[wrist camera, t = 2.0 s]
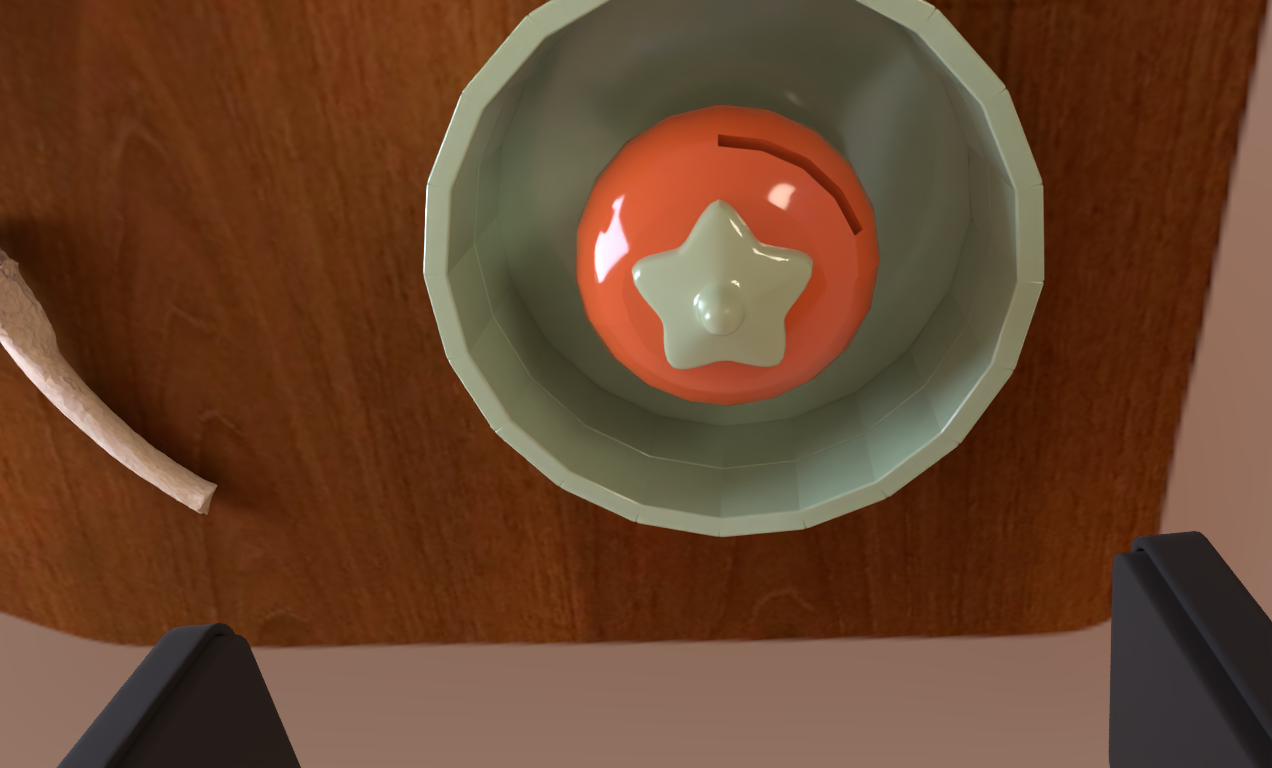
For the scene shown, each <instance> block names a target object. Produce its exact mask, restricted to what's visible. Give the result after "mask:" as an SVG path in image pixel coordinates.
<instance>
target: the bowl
mask: <svg viewBox="0 0 1272 768" xmlns="http://www.w3.org/2000/svg"><path fill="white" fill-rule="evenodd" d="M716 104H728V105H738V106H747V107H757V108H767V109H769V110H772V111H774V112H776V113H778V114H781V115H783V116H785V117H787V118H790V119H792V120H794V121H796V122H799V123H801V124H803V125H805V126H808V127H810V128H812V129H814V130H816V131H817V132H818V133H819V134H820V135H821V136H822V137H823V138H824V139H825V140H827V141H828V142H829V143H830V144H831V145H832V146H833V147H834V148H835V149H836V150H837V151H838V152H839V153H840V154H841V155H842V156H843V157H844V158H845V159H847V160H848V161H849V162H850V163H851V164H852V166H853V168H854V170H855V172H856V174H857V176H858V178H859V180H860V182H861V183H862V185H863V187H864V189H865V191H866V193H867V195H868V197H869V199H870V201H871V203H872V204H873V206H874V213H875V220H876V227H877V235H878V242H879V250H880V263H879V269H878V274H877V279H876V284H875V289H874V294H873V300H872V305H871V309H870V311H869V313H868V314H867V316H866V318H865V320H864V321H863V323H862V325H861V326H860V328H859V330H858V332H857V333H856V335H855V337H854V339H853V340H852V342H851V344H850V346H849V347H848V349H847V350H845V351H844V352H843V353H842V354H841V355H840V356H839V357H838V358H837V359H836V360H835V361H834V362H833V363H831V364H830V365H829V366H828V367H827V368H826V369H825V370H824V371H823V372H822V373H821V374H820V375H818V376H817V377H816V378H815V379H814V380H811V381H809V382H807V383H805V384H803V385H801V386H799V387H797V388H795V389H793V390H790V391H788V392H786V393H784V394H782V395H780V396H778V397H776V398H773V399H767V400H762V401H756V402H750V403H744V404H738V405H732V406H725V405H717V404H708V403H700V402H692V401H686V400H683V399H681V398H678V397H676V396H674V395H671V394H669V393H667V392H664V391H662V390H659V389H657V388H655V387H652V386H650V385H647V384H645V383H644V382H642V381H641V380H640V379H639V378H638V377H636V376H635V375H634V374H633V373H632V372H630V371H629V370H628V369H627V368H626V367H624V366H623V365H622V364H621V363H620V362H618V361H617V360H616V359H615V358H613V357H612V356H611V355H610V353H609V352H608V350H607V349H606V347H605V346H604V344H603V343H602V341H601V340H600V338H599V337H598V335H597V334H596V332H595V331H594V329H593V328H592V326H591V325H590V323H589V322H588V320H587V319H586V315H585V311H584V307H583V304H582V300H581V296H580V293H579V289H578V285H577V281H576V278H575V267H576V247H577V229H578V220H579V217H580V215H581V212H582V210H583V207H584V205H585V203H586V200H587V198H588V195H589V193H590V190H591V188H592V185H593V183H594V180H595V178H596V177H597V175H598V174H599V173H600V172H601V171H602V169H603V168H604V167H605V166H606V165H607V164H608V162H609V161H610V160H611V159H612V158H613V156H614V155H615V154H616V153H617V152H618V151H619V149H620V148H621V147H622V146H623V145H624V144H625V142H626V141H627V140H629V139H631V138H632V137H634V136H636V135H637V134H639V133H641V132H643V131H644V130H646V129H648V128H649V127H651V126H653V125H654V124H656V123H658V122H659V121H661V120H663V119H664V118H666V117H668V116H669V115H673V114H677V113H681V112H686V111H690V110H695V109H699V108H703V107H708V106H712V105H716ZM423 273H424V279H425V283H426V287H427V290H428V294H429V297H430V301H431V304H432V308H433V311H434V315H435V318H436V322H437V325H438V329H439V332H440V336H441V339H442V343H443V346H444V350H445V353H446V357H447V359H449V363H450V365H451V366H452V368H453V369H454V371H455V372H456V374H457V375H458V377H459V378H460V380H461V381H462V383H463V384H464V386H465V388H466V389H467V391H468V392H469V394H470V395H471V397H472V398H473V400H474V401H475V403H476V404H477V406H478V407H479V409H480V411H481V412H482V414H483V415H484V417H485V418H486V420H487V421H488V423H489V424H490V426H491V427H492V429H493V430H494V431H496V434H497V435H499V436H500V437H501V438H502V439H503V440H504V441H506V442H507V443H508V444H509V445H510V446H511V447H513V448H514V449H515V450H516V451H517V452H518V453H520V454H521V455H522V456H523V457H524V458H525V459H527V460H528V461H529V462H530V463H531V464H533V465H534V466H535V467H536V468H537V469H538V470H540V471H541V472H542V473H543V474H544V475H545V476H547V477H548V478H549V479H550V480H551V481H552V482H554V483H555V484H556V485H557V486H560V487H561V488H562V489H564V490H566V491H568V492H571V493H573V494H575V495H577V496H579V497H581V498H584V499H586V500H588V501H590V502H592V503H594V504H597V505H599V506H601V507H603V508H605V509H607V510H610V511H612V512H614V513H616V514H618V515H620V516H622V517H625V518H627V519H629V520H631V521H633V522H636V521H637V523H640V524H646V525H652V526H658V527H664V528H670V529H676V530H682V531H687V532H693V533H699V534H705V535H711V536H717V537H718V536H721V537H728V536H738V535H749V534H760V533H770V532H781V531H791V530H802V529H805V527H806V528H810V527H812V526H815V525H818V524H820V523H823V522H825V521H828V520H831V519H833V518H836V517H839V516H841V515H844V514H847V513H849V512H852V511H855V510H857V509H860V508H863V507H865V506H868V505H870V504H873V503H876V502H878V501H881V500H884V499H886V498H887V496H888V497H889V496H891V495H892V494H894V493H895V492H896V491H898V490H899V489H901V488H902V487H903V486H905V485H906V484H907V483H909V482H910V481H911V480H913V479H914V478H915V477H917V476H918V475H919V474H921V473H922V472H923V471H925V470H926V469H927V468H929V467H930V466H932V465H933V464H934V463H936V462H937V461H938V460H940V459H941V458H942V457H944V456H945V455H946V454H948V453H949V452H950V451H952V450H953V449H954V448H956V447H957V446H958V443H961V442H962V441H963V439H964V438H965V437H966V435H967V434H968V433H969V431H970V430H971V429H972V427H973V426H974V425H975V423H976V422H977V420H978V419H979V418H980V416H981V415H982V414H983V412H984V411H985V410H986V408H987V407H988V406H989V404H990V403H991V402H992V400H993V399H994V398H995V396H996V395H997V394H998V392H999V391H1000V389H1001V388H1002V387H1003V385H1004V384H1005V383H1006V381H1007V380H1008V379H1009V377H1010V376H1011V375H1012V373H1013V370H1014V369H1015V367H1016V364H1017V361H1018V358H1019V355H1020V352H1021V349H1022V346H1023V344H1024V341H1025V338H1026V335H1027V332H1028V329H1029V326H1030V323H1031V320H1032V317H1033V314H1034V311H1035V308H1036V305H1037V302H1038V299H1039V296H1040V293H1041V290H1042V287H1043V280H1044V192H1043V184H1042V178H1041V175H1040V173H1039V170H1038V167H1037V165H1036V162H1035V160H1034V157H1033V154H1032V152H1031V149H1030V146H1029V144H1028V141H1027V138H1026V136H1025V133H1024V130H1023V128H1022V125H1021V123H1020V120H1019V117H1018V115H1017V112H1016V109H1015V107H1014V104H1013V101H1012V99H1011V96H1010V93H1009V91H1008V90H1007V89H1006V87H1005V84H1004V83H1003V82H1002V81H1001V80H1000V79H999V77H998V76H997V75H996V74H995V73H994V72H993V71H992V69H991V68H990V67H989V66H988V65H987V64H986V63H985V61H984V60H983V59H982V58H981V57H980V56H979V55H978V53H977V52H976V51H975V50H974V49H973V48H972V47H971V45H970V44H969V43H968V42H967V41H966V40H965V39H964V37H963V36H962V35H961V34H960V33H959V32H958V31H957V29H956V28H955V27H954V26H953V25H952V24H951V23H950V21H949V20H948V19H947V18H946V17H945V16H944V15H943V13H942V12H941V11H940V10H939V9H937V8H935V6H934V5H932V4H930V3H928V2H927V1H925V0H550V1H549V2H547V3H545V4H544V5H542V6H540V7H539V8H537V9H535V10H534V11H532V12H530V13H529V15H527V16H525V17H524V19H523V20H522V21H521V22H520V23H519V24H518V26H517V27H516V28H515V29H514V30H513V32H512V33H511V34H510V35H509V36H508V38H507V39H506V40H505V41H504V42H503V43H502V45H501V46H500V47H499V48H498V49H497V51H496V52H495V53H494V54H493V55H492V57H491V58H490V59H489V60H488V61H487V62H486V64H485V65H484V66H483V67H482V68H481V70H480V71H479V72H478V73H477V74H476V76H475V77H474V78H473V79H472V80H471V81H470V83H469V84H468V85H467V86H466V87H465V89H464V90H463V92H462V94H461V95H460V97H459V100H458V103H457V105H456V108H455V110H454V113H453V116H452V118H451V121H450V123H449V126H448V129H447V131H446V134H445V136H444V139H443V142H442V144H441V147H440V149H439V152H438V155H437V157H436V160H435V163H434V165H433V168H432V170H431V173H430V176H429V178H428V184H427V187H426V213H425V239H424V264H423Z"/></svg>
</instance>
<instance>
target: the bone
mask: <svg viewBox="0 0 1272 768" xmlns="http://www.w3.org/2000/svg"><path fill="white" fill-rule="evenodd" d="M18 265H19V263H18V262H16V261H14V260H13V259H10V258H9V257H8V256H7V254H6V253H5V252H4V251H2V249H1V247H0V342H1V343H2V345H3V346H4V347H5V348H6V350H7V351H8V353H9V354H10V355H11V356H12V358H13V359H14V360H15V362H16V363H17V364H18V366H19V367H20V368H21V369H22V370H23V372H24V373H25V374H26V376H28V377H29V378H30V379H31V381H32V382H33V383H34V384H35V385H36V386H37V387H38V388H39V389H40V390H41V391H42V392H43V393H44V395H45V396H46V397H47V398H48V399H49V400H50V401H51V402H52V403H53V404H54V405H55V406H56V407H57V408H59V410H60V411H61V412H62V413H63V414H64V415H66V416H67V417H68V418H69V419H70V420H71V421H73V422H74V423H75V424H76V425H77V426H78V427H79V428H80V429H81V430H82V431H84V432H85V433H86V434H87V435H88V436H90V437H91V438H92V439H93V440H94V441H95V442H96V443H97V444H98V445H100V446H101V447H102V448H103V449H105V450H106V451H107V452H108V453H109V454H110V455H112V456H113V457H114V458H115V459H117V460H119V461H120V462H121V463H122V464H123V465H125V466H126V467H128V468H129V469H131V470H132V471H134V472H135V473H136V474H137V475H139V476H140V477H142V478H144V479H145V480H147V481H149V482H150V483H152V484H154V485H155V486H157V487H158V488H160V489H161V490H162V491H164V492H165V493H167V494H168V495H170V496H172V497H173V498H175V499H176V500H178V501H180V502H182V503H183V504H185V505H187V506H188V507H190V508H191V509H193V510H195V511H197V512H198V513H199V514H202V513H205V514H208V512H209V506H210V502H211V498H212V495H213V493H214V491H215V489H216V487H217V485H216V484H214V483H211V482H209V481H206V480H204V479H202V478H201V477H199V476H197V475H196V474H195V473H193V472H191V471H189V470H188V469H186V468H184V467H183V466H181V465H180V464H177V463H175V462H174V461H173V460H172V459H171V458H169V457H167V455H165V454H164V453H162V452H160V451H159V450H157V449H155V448H154V447H153V446H152V445H150V444H148V442H147V441H146V440H145V439H143V438H142V437H141V436H140V435H139V434H137V433H135V432H134V431H133V430H132V429H131V428H130V427H129V426H128V425H127V424H126V423H125V422H124V421H123V420H122V419H121V418H119V417H118V416H117V415H116V414H115V413H113V412H112V411H111V410H110V409H109V408H108V406H107V405H106V404H104V403H103V402H102V401H101V400H100V398H99V397H98V396H97V395H96V394H95V393H94V392H93V391H92V390H91V389H90V388H89V387H88V386H87V385H86V384H85V383H84V382H83V380H82V379H81V378H80V377H79V376H78V374H77V373H76V372H75V371H74V370H73V369H72V368H71V366H70V365H69V364H68V362H67V361H66V360H65V359H64V357H63V356H62V355H61V354H60V352H59V349H58V346H57V344H56V335H55V332H54V330H53V328H52V325H51V324H50V322H49V320H48V318H47V316H46V314H45V312H44V310H43V308H42V306H41V304H40V302H38V301H37V299H36V298H35V296H34V294H33V292H32V290H31V289H30V288H29V287H28V286H27V285H26V283H25V281H24V279H23V278H22V276H21V274H20V272H19V269H18Z"/></svg>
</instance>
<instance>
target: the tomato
mask: <svg viewBox="0 0 1272 768" xmlns="http://www.w3.org/2000/svg"><path fill="white" fill-rule="evenodd" d="M879 263H880V250H879V242H878V235H877V227H876V220H875V213H874V206H873V204H872V203H871V201H870V199H869V197H868V195H867V193H866V191H865V189H864V187H863V185H862V183H861V182H860V180H859V178H858V176H857V174H856V172H855V170H854V168H853V166H852V164H851V163H850V162H849V161H848V160H847V159H845V158H844V157H843V156H842V155H841V154H840V153H839V152H838V151H837V150H836V149H835V148H834V147H833V146H832V145H831V144H830V143H829V142H828V141H827V140H825V139H824V138H823V137H822V136H821V135H820V134H819V133H818V132H817V131H816V130H814V129H812V128H810V127H808V126H805V125H803V124H801V123H799V122H796V121H794V120H792V119H790V118H787V117H785V116H783V115H781V114H778V113H776V112H774V111H772V110H769V109H767V108H757V107H747V106H738V105H728V104H716V105H712V106H708V107H703V108H699V109H695V110H690V111H686V112H681V113H677V114H673V115H669V116H668V117H666V118H664V119H663V120H661V121H659V122H658V123H656V124H654V125H653V126H651V127H649V128H648V129H646V130H644V131H643V132H641V133H639V134H637V135H636V136H634V137H632V138H631V139H629V140H627V141H626V142H625V144H624V145H623V146H622V147H621V148H620V149H619V151H618V152H617V153H616V154H615V155H614V156H613V158H612V159H611V160H610V161H609V162H608V164H607V165H606V166H605V167H604V168H603V169H602V171H601V172H600V173H599V174H598V175H597V177H596V178H595V180H594V183H593V185H592V188H591V190H590V193H589V195H588V198H587V200H586V203H585V205H584V207H583V210H582V212H581V215H580V217H579V220H578V229H577V247H576V267H575V278H576V281H577V285H578V289H579V293H580V296H581V300H582V304H583V307H584V311H585V315H586V319H587V320H588V322H589V323H590V325H591V326H592V328H593V329H594V331H595V332H596V334H597V335H598V337H599V338H600V340H601V341H602V343H603V344H604V346H605V347H606V349H607V350H608V352H609V353H610V355H611V356H612V357H613V358H615V359H616V360H617V361H618V362H620V363H621V364H622V365H623V366H624V367H626V368H627V369H628V370H629V371H630V372H632V373H633V374H634V375H635V376H636V377H638V378H639V379H640V380H641V381H642V382H644V383H645V384H647V385H650V386H652V387H655V388H657V389H659V390H662V391H664V392H667V393H669V394H671V395H674V396H676V397H678V398H681V399H683V400H686V401H692V402H700V403H708V404H717V405H725V406H732V405H738V404H744V403H750V402H756V401H762V400H767V399H773V398H776V397H778V396H780V395H782V394H784V393H786V392H788V391H790V390H793V389H795V388H797V387H799V386H801V385H803V384H805V383H807V382H809V381H811V380H814V379H815V378H816V377H817V376H818V375H820V374H821V373H822V372H823V371H824V370H825V369H826V368H827V367H828V366H829V365H830V364H831V363H833V362H834V361H835V360H836V359H837V358H838V357H839V356H840V355H841V354H842V353H843V352H844V351H845V350H847V349H848V347H849V346H850V344H851V342H852V340H853V339H854V337H855V335H856V333H857V332H858V330H859V328H860V326H861V325H862V323H863V321H864V320H865V318H866V316H867V314H868V313H869V311H870V309H871V305H872V300H873V294H874V289H875V284H876V279H877V274H878V269H879Z"/></svg>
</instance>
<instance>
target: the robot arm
mask: <svg viewBox="0 0 1272 768" xmlns="http://www.w3.org/2000/svg"><path fill="white" fill-rule="evenodd" d="M1110 672H1111V673H1110V718H1109V764H1110V768H1272V621H1271V620H1270V619H1269V617H1268V616H1267V615H1266V613H1265V612H1264V611H1263V610H1262V608H1261V607H1260V606H1259V605H1258V603H1257V602H1256V601H1255V599H1254V598H1253V597H1252V596H1251V594H1250V593H1249V592H1248V590H1247V589H1246V588H1245V587H1244V585H1243V584H1242V583H1241V581H1240V580H1239V579H1238V578H1237V576H1236V575H1235V574H1234V573H1233V571H1232V570H1231V569H1230V567H1229V566H1228V565H1227V564H1226V562H1225V561H1224V560H1223V558H1222V557H1221V556H1220V555H1219V553H1218V552H1217V551H1216V549H1215V548H1214V547H1213V546H1212V544H1211V543H1210V542H1209V541H1208V539H1207V538H1206V537H1205V536H1204V535H1203V534H1202V533H1200V532H1196V531H1192V532H1182V533H1171V534H1160V535H1150V536H1139V537H1136V538H1135V539H1134V540H1133V543H1132V545H1131V552H1128V553H1118V554H1116V555H1115V557H1114V560H1113V576H1112V624H1111V671H1110ZM57 768H301V767H300V764H299V762H298V760H297V758H296V755H295V753H294V751H293V748H292V746H291V743H290V741H289V739H288V736H287V734H286V731H285V729H284V726H283V724H282V722H281V719H280V717H279V715H278V712H277V710H276V708H275V705H274V703H273V700H272V698H271V696H270V693H269V691H268V689H267V686H266V684H265V681H264V679H263V677H262V674H261V672H260V670H259V667H258V665H257V662H256V660H255V658H254V655H253V653H252V651H251V648H250V646H249V644H248V642H247V640H246V639H245V638H244V637H242V636H241V635H235V633H234V632H233V630H232V629H231V628H230V627H229V626H227V625H226V624H221V623H217V624H207V625H196V626H185V627H177V628H174V629H171V630H169V631H168V632H167V633H166V634H165V635H163V637H162V638H161V639H160V640H159V642H158V643H157V644H156V645H155V646H154V648H153V649H152V650H151V651H150V653H149V654H148V655H147V656H146V658H145V659H144V660H143V661H142V663H141V664H140V665H139V666H138V668H137V669H136V670H135V671H134V672H133V674H132V675H131V676H130V677H129V679H128V680H127V681H126V682H125V684H124V685H123V686H122V687H121V689H120V690H119V691H118V692H117V694H116V695H115V696H114V697H113V699H112V700H111V701H110V702H109V703H108V705H107V706H106V707H105V709H104V710H103V711H102V712H101V713H100V715H99V716H98V717H97V718H96V720H95V721H94V722H93V723H92V725H91V726H90V727H89V728H88V730H87V731H86V732H85V733H84V734H83V736H82V737H81V738H80V739H79V740H78V742H77V743H76V744H75V745H74V747H73V748H72V749H71V750H70V752H69V753H68V754H67V756H66V757H65V758H64V759H63V761H62V762H61V763H60V764H59V765H58V767H57Z"/></svg>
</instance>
